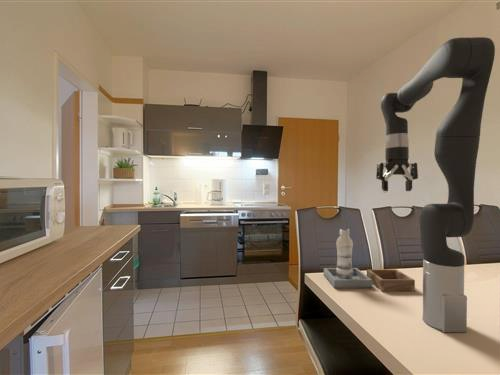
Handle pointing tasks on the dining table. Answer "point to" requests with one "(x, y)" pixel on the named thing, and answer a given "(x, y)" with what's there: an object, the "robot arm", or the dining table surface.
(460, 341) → the dining table surface
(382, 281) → the walnut collar
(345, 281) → the grey tray
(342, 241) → the plastic bottle
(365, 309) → the dining table surface
